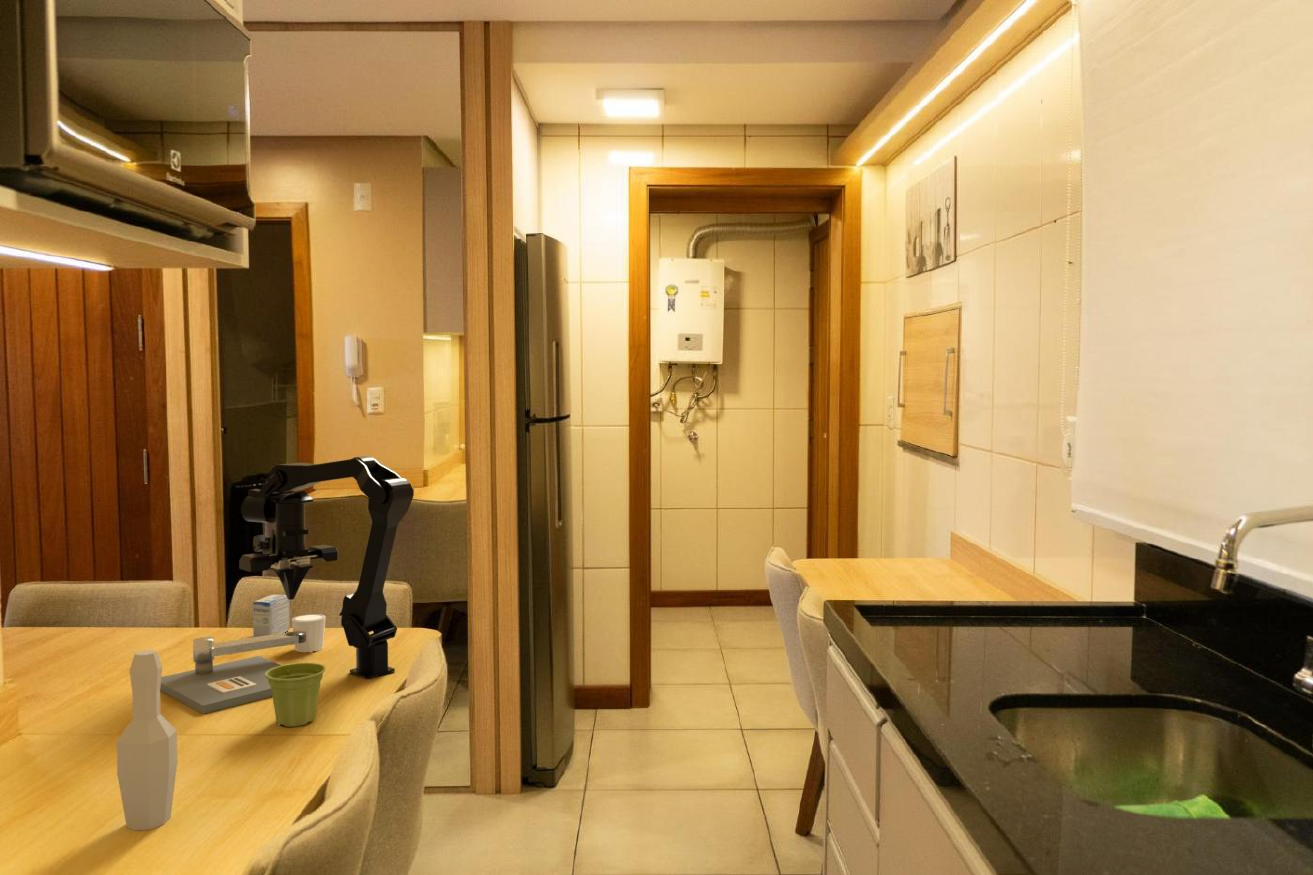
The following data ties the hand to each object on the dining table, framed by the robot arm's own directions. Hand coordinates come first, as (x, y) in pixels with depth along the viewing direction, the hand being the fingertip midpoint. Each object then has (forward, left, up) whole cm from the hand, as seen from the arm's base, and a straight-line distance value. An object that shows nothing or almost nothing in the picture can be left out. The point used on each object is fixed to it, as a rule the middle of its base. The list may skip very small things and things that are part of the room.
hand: (290, 599), depth 182 cm
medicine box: (+23, -7, -13) cm, 27 cm away
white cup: (+6, -7, -13) cm, 16 cm away
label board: (-7, +15, -13) cm, 21 cm away
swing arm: (-1, +9, -9) cm, 13 cm away
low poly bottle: (-53, +46, -13) cm, 71 cm away
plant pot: (-33, +16, -13) cm, 39 cm away
